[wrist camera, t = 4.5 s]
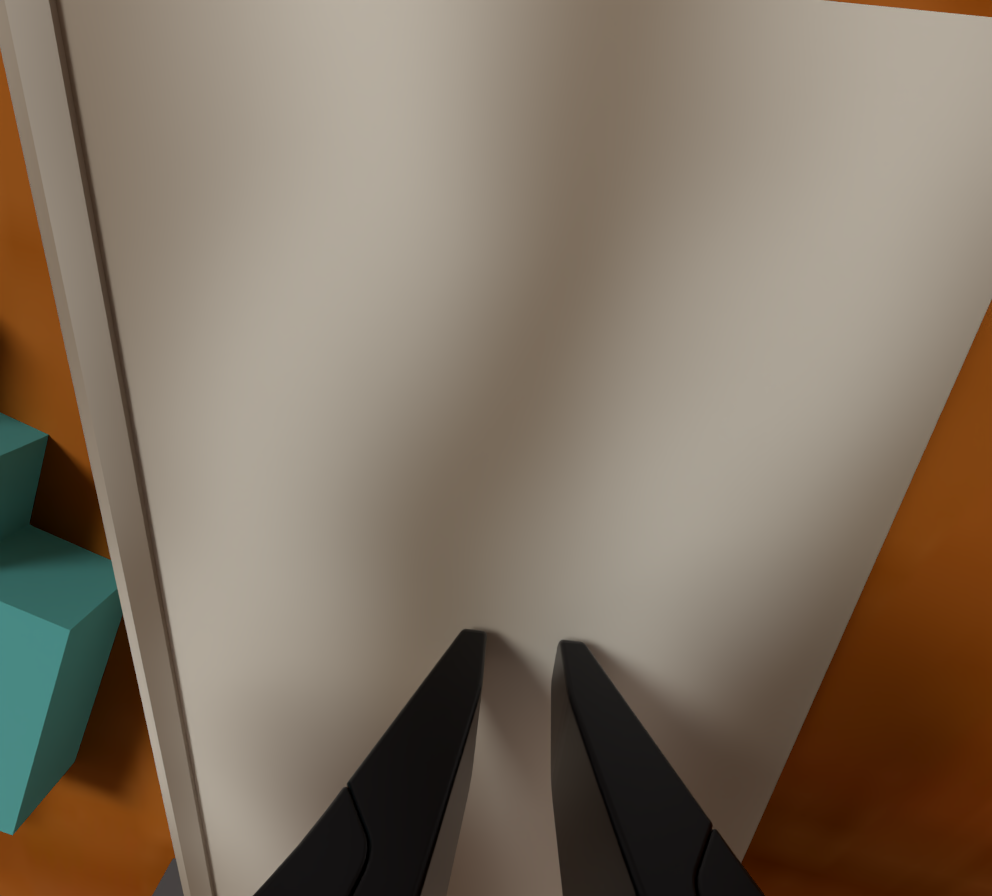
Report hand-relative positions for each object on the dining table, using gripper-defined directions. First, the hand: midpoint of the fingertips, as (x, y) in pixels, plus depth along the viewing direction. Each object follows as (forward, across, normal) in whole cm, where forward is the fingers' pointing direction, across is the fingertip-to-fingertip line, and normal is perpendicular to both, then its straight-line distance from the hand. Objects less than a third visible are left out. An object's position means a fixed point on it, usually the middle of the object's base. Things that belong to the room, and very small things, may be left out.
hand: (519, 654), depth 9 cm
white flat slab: (+2, +1, 0) cm, 2 cm away
